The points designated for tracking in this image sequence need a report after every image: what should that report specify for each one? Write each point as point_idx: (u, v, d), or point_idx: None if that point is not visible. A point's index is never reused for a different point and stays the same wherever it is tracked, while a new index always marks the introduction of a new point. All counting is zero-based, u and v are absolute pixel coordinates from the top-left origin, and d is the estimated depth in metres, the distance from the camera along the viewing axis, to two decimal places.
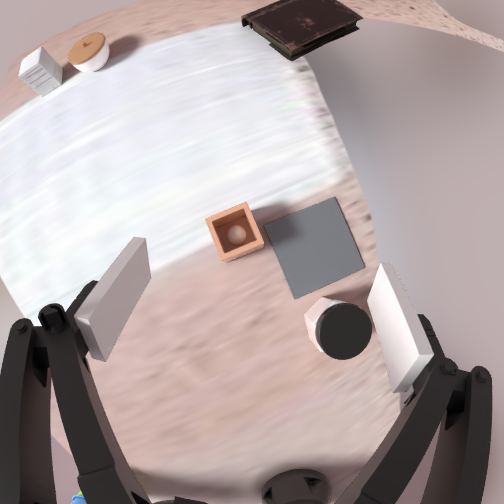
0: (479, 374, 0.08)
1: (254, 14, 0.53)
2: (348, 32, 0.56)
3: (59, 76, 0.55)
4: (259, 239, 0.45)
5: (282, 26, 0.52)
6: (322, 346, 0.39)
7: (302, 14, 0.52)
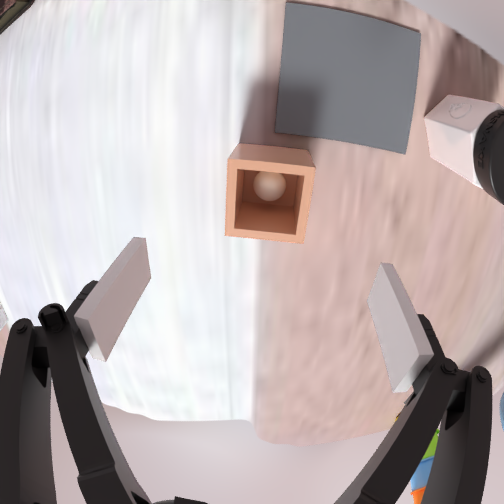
0: (479, 374, 0.08)
1: None
2: None
3: None
4: (305, 172, 0.23)
5: None
6: None
7: None
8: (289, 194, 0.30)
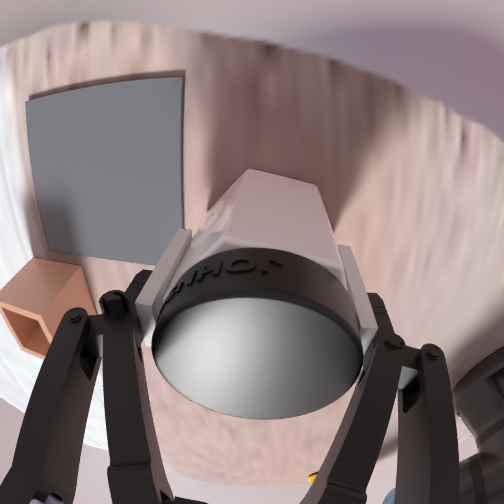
0: (429, 352, 0.10)
1: None
2: None
3: None
4: (37, 318, 0.18)
5: None
6: (255, 418, 0.12)
7: None
8: None
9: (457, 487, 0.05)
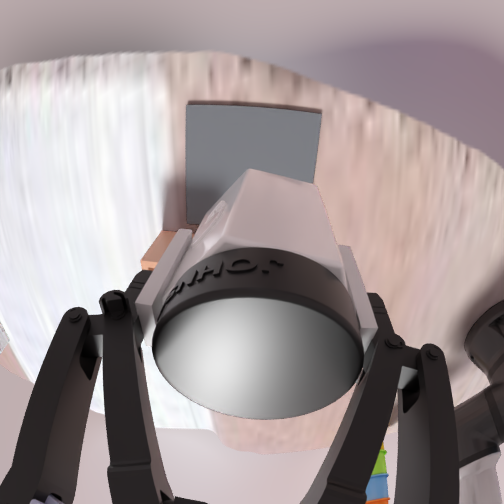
0: (429, 352, 0.10)
1: None
2: None
3: None
4: None
5: None
6: (256, 418, 0.12)
7: None
8: None
9: (457, 487, 0.05)
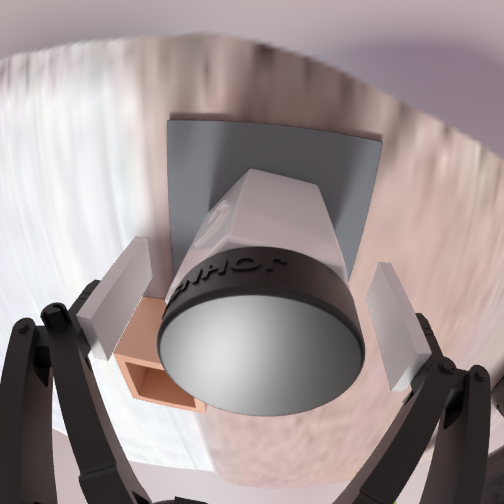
0: (477, 373, 0.08)
1: None
2: None
3: None
4: None
5: None
6: (258, 415, 0.13)
7: None
8: None
9: None
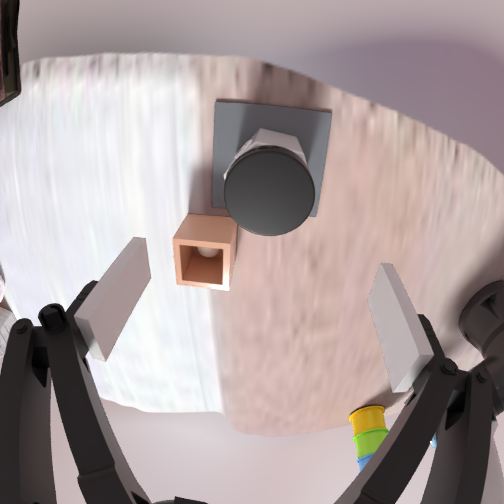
0: (479, 374, 0.08)
1: None
2: None
3: (4, 314, 0.57)
4: (224, 246, 0.35)
5: None
6: (268, 234, 0.27)
7: None
8: None
9: None
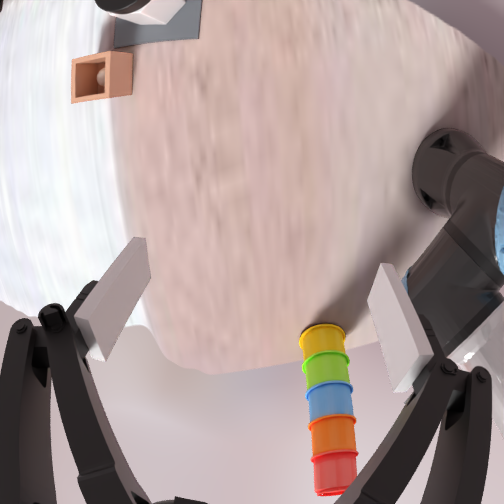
0: (479, 374, 0.08)
1: None
2: None
3: None
4: (106, 54, 0.29)
5: None
6: (120, 8, 0.22)
7: None
8: None
9: None
